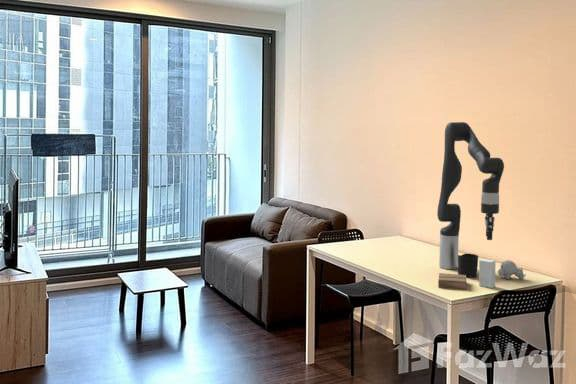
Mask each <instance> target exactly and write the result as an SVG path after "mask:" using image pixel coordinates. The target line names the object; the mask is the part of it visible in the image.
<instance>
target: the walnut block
mask: <svg viewBox="0 0 576 384" xmlns="http://www.w3.org/2000/svg"><path fill="white" fill-rule="evenodd" d="M437 285H438V289H440V288H441V289H452V290H464V291H465V290H467V278H466V275H459V274H458V273H456V274H454V273H443V272H442V273H440V272H439V273H438V284H437Z"/></svg>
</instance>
